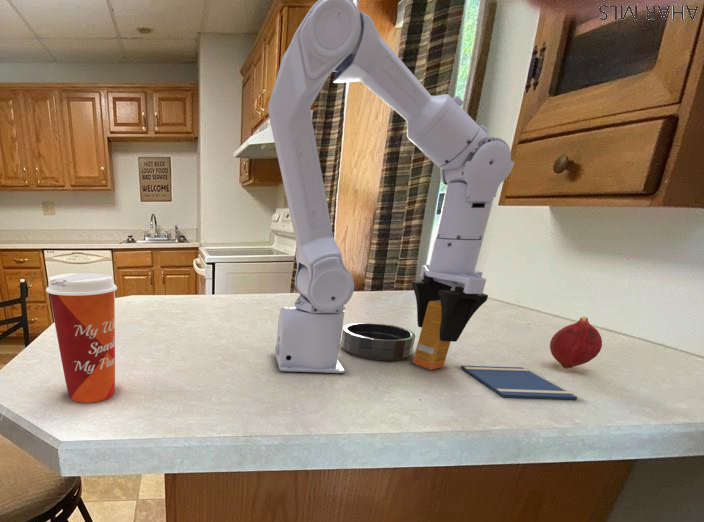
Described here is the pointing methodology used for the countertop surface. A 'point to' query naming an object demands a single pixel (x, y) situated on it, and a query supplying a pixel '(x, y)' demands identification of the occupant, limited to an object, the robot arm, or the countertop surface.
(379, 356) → the pan
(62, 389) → the countertop surface
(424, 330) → the supplement box
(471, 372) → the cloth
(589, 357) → the onion
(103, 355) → the coffee cup
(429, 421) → the countertop surface
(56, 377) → the countertop surface
